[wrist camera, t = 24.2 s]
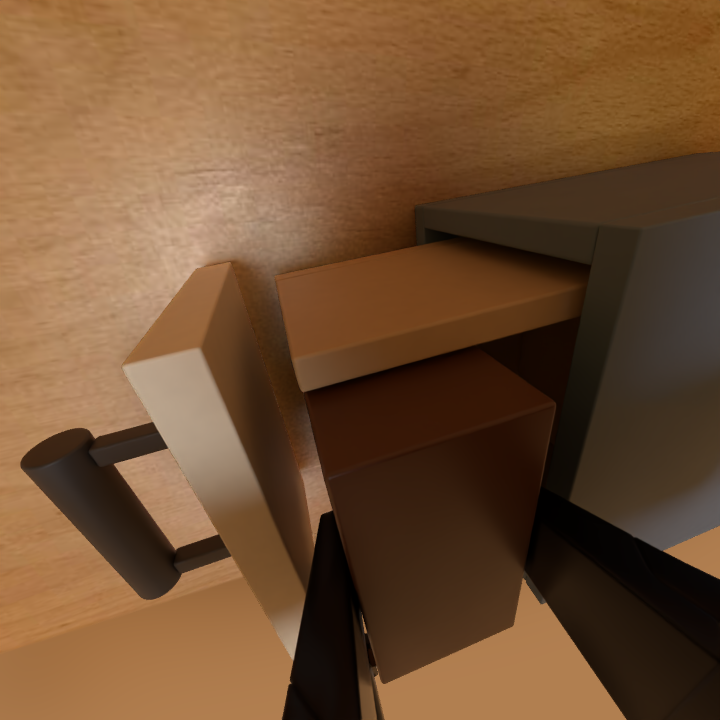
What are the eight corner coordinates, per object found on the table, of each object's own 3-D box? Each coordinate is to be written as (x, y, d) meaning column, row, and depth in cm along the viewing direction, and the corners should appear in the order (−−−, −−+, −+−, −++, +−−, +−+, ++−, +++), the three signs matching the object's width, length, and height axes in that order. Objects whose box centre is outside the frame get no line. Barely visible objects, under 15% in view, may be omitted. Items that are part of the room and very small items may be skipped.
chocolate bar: (450, 326, 8) (559, 401, 5) (451, 520, 12) (514, 627, 9) (297, 366, 8) (323, 477, 5) (349, 558, 12) (382, 685, 9)
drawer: (193, 518, 16) (154, 725, 10) (55, 295, 10) (-240, 451, 4) (510, 415, 19) (633, 525, 13) (534, 201, 14) (772, 211, 7)
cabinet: (426, 438, 19) (540, 605, 12) (413, 205, 13) (642, 227, 5) (627, 374, 22) (832, 476, 14) (695, 153, 16) (1130, 116, 8)
